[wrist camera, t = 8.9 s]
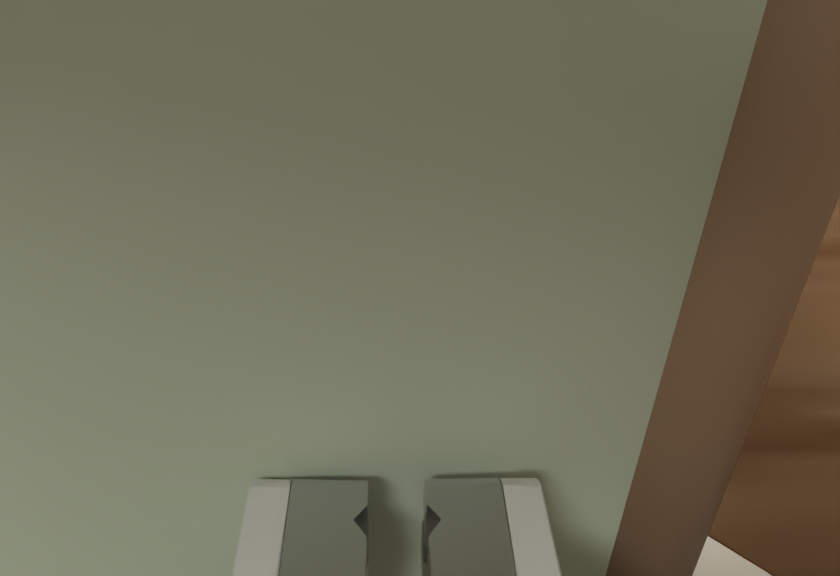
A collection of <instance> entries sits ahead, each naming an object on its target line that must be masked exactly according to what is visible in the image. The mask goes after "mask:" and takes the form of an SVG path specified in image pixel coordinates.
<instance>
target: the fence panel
mask: <svg viewBox="0 0 840 576" xmlns="http://www.w3.org/2000/svg"><path fill="white" fill-rule="evenodd" d="M839 195H840V0H0V576H232V573H233V568H234V563H235V558H236V553H237V548H238V543H239V538H240V532H241V527H242V522H243V517H244V512H245V507H246V502H247V497H248V492H249V488H250V486H251V484H252V482H253V480H254V479H316V480H365V481H368V493H369V511H368V521H369V564H368V576H421V533H422V521H423V520H424V511H423V491H424V481H425V479H465V478H498V479H500V478H537V479H538V480H539V482H540V483H541V485H542V489H543V494H544V498H545V503H546V507H547V512H548V516H549V521H550V525H551V530H552V534H553V539H554V543H555V547H556V552H557V556H558V561H559V565H560V570H561V574H562V576H692V575H693V573H694V570H695V568H696V565H697V562H698V560H699V557H700V555H701V552H702V549H703V547H704V544H705V542H706V539H707V536H708V534H709V531H710V529H711V526H712V524H713V521H714V518H715V516H716V513H717V511H718V508H719V505H720V503H721V500H722V498H723V495H724V493H725V490H726V487H727V485H728V482H729V480H730V477H731V474H732V472H733V469H734V467H735V464H736V461H737V459H738V456H739V454H740V451H741V449H742V446H743V443H744V441H745V438H746V436H747V433H748V430H749V428H750V425H751V423H752V420H753V417H754V415H755V412H756V410H757V407H758V405H759V402H760V399H761V397H762V394H763V392H764V389H765V386H766V384H767V381H768V379H769V376H770V374H771V371H772V368H773V366H774V363H775V361H776V358H777V355H778V353H779V350H780V348H781V345H782V342H783V340H784V337H785V335H786V332H787V330H788V327H789V324H790V322H791V319H792V317H793V314H794V311H795V309H796V306H797V304H798V301H799V299H800V296H801V293H802V291H803V288H804V286H805V283H806V280H807V278H808V275H809V273H810V270H811V267H812V265H813V262H814V260H815V257H816V255H817V252H818V249H819V247H820V244H821V242H822V239H823V236H824V234H825V231H826V229H827V226H828V224H829V221H830V218H831V216H832V213H833V211H834V208H835V205H836V203H837V200H838V198H839Z"/></svg>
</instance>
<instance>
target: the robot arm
mask: <svg viewBox="0 0 840 576" xmlns="http://www.w3.org/2000/svg"><path fill="white" fill-rule="evenodd" d="M368 511H369V493H368V481H365V480H316V479H254V480H253V482H252V484H251V486H250V488H249V492H248V497H247V502H246V507H245V512H244V517H243V522H242V527H241V532H240V538H239V543H238V548H237V553H236V558H235V563H234V568H233V573H232V576H368V564H369V521H368ZM423 511H424V520H423V521H422V533H421V576H562V574H561V570H560V565H559V561H558V556H557V552H556V547H555V543H554V539H553V534H552V530H551V525H550V521H549V516H548V512H547V507H546V503H545V498H544V494H543V489H542V485H541V483H540V482H539V480H538V479H537V478H500V479H498V478H465V479H425V481H424V491H423Z"/></svg>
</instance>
